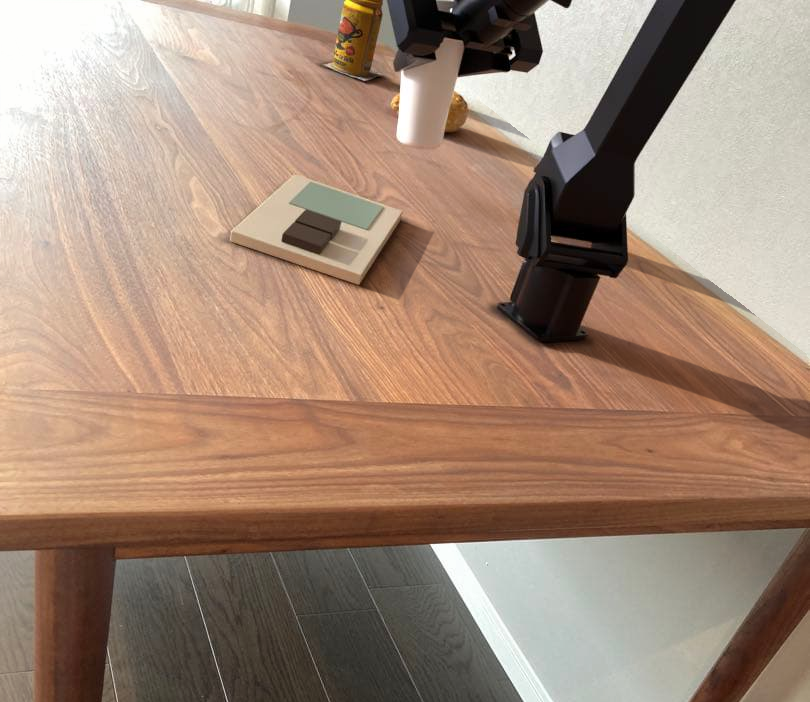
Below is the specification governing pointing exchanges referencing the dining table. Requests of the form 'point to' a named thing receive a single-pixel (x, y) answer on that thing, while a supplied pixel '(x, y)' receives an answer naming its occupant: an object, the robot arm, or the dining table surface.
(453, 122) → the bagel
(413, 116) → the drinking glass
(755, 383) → the dining table surface
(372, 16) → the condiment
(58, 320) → the dining table surface
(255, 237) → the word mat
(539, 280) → the robot arm
